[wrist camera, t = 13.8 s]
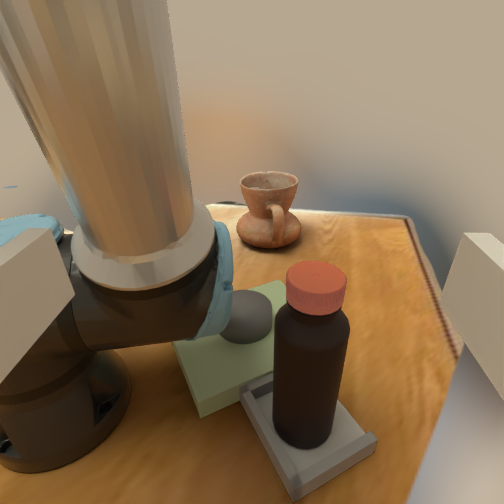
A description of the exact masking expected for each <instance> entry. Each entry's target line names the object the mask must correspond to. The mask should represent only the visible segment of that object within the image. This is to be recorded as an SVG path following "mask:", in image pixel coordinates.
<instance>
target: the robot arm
mask: <svg viewBox="0 0 504 504" xmlns="http://www.w3.org/2000/svg"><path fill="white" fill-rule="evenodd" d="M0 70H1V72H2V74H3V75H4V77H5V79H6V81H7V83H8V85H9V87H10V89H11V91H12V93H13V95H14V97H15V99H16V101H17V103H18V105H19V107H20V109H21V111H22V113H23V115H24V117H25V119H26V120H27V123H28V125H29V127H30V128H31V130H32V132H33V134H34V136H35V138H36V140H37V142H38V144H39V146H40V148H41V150H42V152H43V154H44V156H45V158H46V160H47V162H48V164H49V166H50V168H51V170H52V172H53V174H54V176H55V178H56V180H57V182H58V184H59V185H60V187H61V189H62V191H63V193H64V195H65V197H66V199H67V201H68V203H69V205H70V207H71V209H72V211H73V213H74V215H75V217H76V219H77V221H78V222H79V224H78V225H77V227H76V229H75V231H74V233H73V234H64V228H63V225H61V224H60V223H59V222H58V220H57V219H56V218H54V217H52V216H47V215H44V214H31V215H23V216H17V217H12V218H8V219H4V220H0V464H2V465H3V466H4V467H6V468H8V469H10V470H13V471H17V472H23V473H36V472H43V471H48V470H52V469H55V468H58V467H61V466H63V465H66V464H68V463H70V462H72V461H74V460H76V459H78V458H80V457H81V456H83V455H85V454H86V453H88V452H89V451H90V450H92V449H93V448H94V447H96V446H97V445H98V444H99V443H100V442H102V441H103V440H104V439H105V438H106V437H107V436H108V435H109V434H110V432H111V431H112V430H113V429H114V428H115V427H116V425H117V424H118V422H119V421H120V419H121V418H122V416H123V414H124V413H125V410H126V408H127V406H128V403H129V400H130V395H131V381H130V377H129V374H128V371H127V368H126V365H125V363H124V362H123V360H122V359H121V357H120V356H119V355H118V354H117V353H116V352H115V351H114V350H113V349H120V348H127V347H135V346H143V345H150V344H158V343H166V342H173V341H181V340H186V341H195V340H196V339H198V338H202V337H207V336H212V335H216V334H218V333H220V332H222V331H223V330H224V329H225V328H226V326H227V324H228V322H229V319H230V316H231V310H232V303H233V286H232V282H233V254H232V246H231V240H230V234H229V231H228V229H227V227H226V225H225V224H224V223H222V222H216V221H214V220H213V219H212V216H211V214H210V212H209V210H208V209H207V208H206V207H205V205H204V204H203V203H201V202H200V201H199V200H198V199H196V198H195V197H193V195H192V188H191V180H190V173H189V165H188V157H187V150H186V142H185V135H184V128H183V120H182V112H181V105H180V97H179V90H178V82H177V74H176V67H175V60H174V51H173V44H172V36H171V29H170V22H169V14H168V6H167V0H0ZM439 304H440V306H441V307H442V309H443V310H444V312H445V313H446V315H447V316H448V318H449V319H450V321H451V322H452V324H453V325H454V327H455V328H456V330H457V331H458V333H459V334H460V336H461V337H462V339H463V340H464V342H465V343H466V345H467V346H468V348H469V349H470V351H471V352H472V354H473V355H474V357H475V358H476V360H477V362H478V363H479V365H480V366H481V368H482V369H483V371H484V372H485V373H486V375H487V376H488V378H489V380H490V381H491V383H492V384H493V386H494V387H495V389H496V390H497V391H498V393H499V395H500V396H501V398H502V399H503V400H504V245H503V244H502V243H501V242H500V241H498V240H497V239H496V238H495V237H493V236H492V235H491V234H490V233H463V235H462V238H461V241H460V243H459V246H458V249H457V252H456V255H455V258H454V261H453V264H452V266H451V269H450V272H449V275H448V278H447V281H446V283H445V286H444V289H443V292H442V295H441V298H440V301H439Z"/></svg>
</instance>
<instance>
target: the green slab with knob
mask: <svg viewBox="0 0 504 504" xmlns="http://www.w3.org/2000/svg"><path fill="white" fill-rule="evenodd" d="M285 303H287V302H286V286H285V285H284V284H283V283H282V282H281V281H280V280H276V281H273V282H270V283H267V284H263V285H260V286H257V287H254V288H251V289H248V290H237V291H233V303H232V310H231V316H230V319H229V322H228V324H227V326H226V328H225V329H224V330H223V331H222V332H220V333H218V334H216V335H212V336H207V337H202V338H198V339H196V340H195V341H186V340H181V341H173V342H171V343H172V346H173V348H174V351H175V353H176V356H177V359H178V361H179V364H180V366H181V369H182V372H183V374H184V377H185V379H186V382H187V385H188V387H189V390H190V392H191V395H192V397H193V400H194V403H195V405H196V408H197V410H198V413H199V416H200V418H203V417H205V416H207V415H209V414H211V413H214V412H216V411H218V410H220V409H222V408H225V407H227V406H229V405H231V404H233V403H236V402H238V401H240V402H241V404H242V406H243V408H244V410H245V412H246V414H247V416H248V418H249V420H250V421H251V423H252V425H253V427H254V429H255V431H256V433H257V435H258V437H259V439H260V441H261V443H262V444H263V446H264V448H265V450H266V452H267V454H268V456H269V458H270V460H271V462H272V464H273V466H274V467H275V469H276V471H277V473H278V475H279V477H280V479H281V481H282V483H283V485H284V487H285V489H286V490H287V492H288V494H289V496H290V498H291V500H292V502H293V503H294V502H296V501H297V500H299V499H301V498H302V497H304V496H305V495H307V494H309V493H310V492H312V491H313V490H315V489H317V488H318V487H320V486H321V485H323V484H325V483H326V482H328V481H329V480H331V479H333V478H334V477H336V476H337V475H339V474H341V473H342V472H344V471H345V470H347V469H348V468H350V467H352V466H353V465H355V464H356V463H358V462H360V461H361V460H363V459H364V458H366V457H368V456H369V455H371V454H372V453H374V450H375V447H376V444H377V440H378V439H377V438H376V436H375V435H374V434H373V433H372V432H371V431H369V432H368V433H365V432H364V431H363V430H362V428H361V427H360V426H359V425H358V423H357V422H356V421H355V420H354V418H353V417H352V416H351V415H350V414H349V412H348V411H347V410H346V409H345V407H344V406H343V405H342V404H341V403H340V401H339V400H338V399H337V405H336V410H335V416H334V421H333V426H332V431H331V434H330V435H329V437H328V438H327V440H326V441H325V442H324V443H323V444H321V445H320V446H318V447H315V448H311V449H299V448H296V447H293V446H291V445H289V444H287V443H286V442H285V441H284V440H282V439H281V438H280V436H279V435H278V433H277V432H276V430H275V428H274V425H273V421H272V405H273V360H274V322H275V316H276V314H277V312H278V310H279V308H281V307H282V306H283V305H284V304H285Z"/></svg>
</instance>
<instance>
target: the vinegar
mask: <svg viewBox="0 0 504 504" xmlns="http://www.w3.org/2000/svg"><path fill="white" fill-rule="evenodd" d="M346 280H347V279H346V276H345V274H344V273H343V272H342V270H340V269H339V268H337V267H336V266H334V265H332V264H329V263H326V262H322V261H304V262H300V263H297V264H295V265H293V266H292V267H290V269H289V270H288V271H287V275H286V302H287V303H285V304H284V305H283V306H282V307H281V308H279V310H278V312H277V314H276V316H275V322H274V360H273V405H272V421H273V425H274V428H275V430H276V432H277V433H278V435H279V436H280V438H281V439H282V440H284V441H285V442H286V443H287V444H289V445H291V446H293V447H296V448H299V449H311V448H315V447H318V446H320V445H321V444H323V443H324V442H325V441H326V440H327V438H328V437H329V435H330V434H331V431H332V426H333V421H334V416H335V410H336V405H337V399H338V394H339V388H340V383H341V377H342V372H343V366H344V361H345V355H346V350H347V344H348V339H349V334H350V326H349V321H348V318H347V317H346V316H345V314H344V313H343V311H342V310H341V307H342V304H343V301H344V295H345V289H346V283H347V281H346Z"/></svg>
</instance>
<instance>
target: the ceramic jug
mask: <svg viewBox="0 0 504 504" xmlns="http://www.w3.org/2000/svg"><path fill="white" fill-rule="evenodd" d="M240 186H241V191H242V194H243V196H244V199H245V201H246V204H247V206H248V208H249V210H250V211H249V212H248V213H246V214H245V215H243V216H242V217H241V218H240V219H239V221H238V223H237V227H236V228H237V233H238V235H239V237H240V238H241V239H242V240H243V241H244V242H246V243H248V244H250V245H253V246H256V247H261V248H278V247H282V246H286V245H288V244H290V243H292V242H294V241H295V240H296V239H297V238H298V236H299V234H300V231H301V225H300V222H299V220H298V219H297V217H296V216H295V215H293V214H292V213H290V212H289V211H288V210H289V208H290V206H291V204H292V202H293V199H294V197H295V193H296V190H297V186H298V178H297V177H295V176H293V175H291V174H288V173H283V172H276V171H275V172H274V171H269V172H267V173H265V172H255V173H251V174H248V175H246V176H244V177H243V178H241V180H240ZM250 187H259V189H251V188H250Z"/></svg>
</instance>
